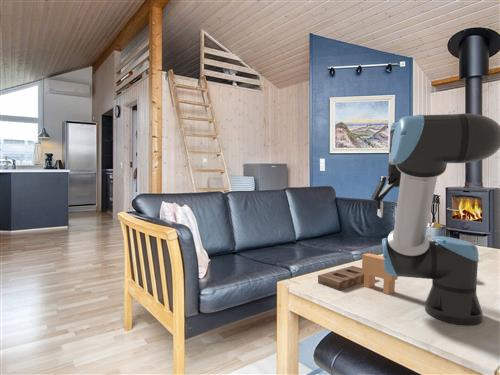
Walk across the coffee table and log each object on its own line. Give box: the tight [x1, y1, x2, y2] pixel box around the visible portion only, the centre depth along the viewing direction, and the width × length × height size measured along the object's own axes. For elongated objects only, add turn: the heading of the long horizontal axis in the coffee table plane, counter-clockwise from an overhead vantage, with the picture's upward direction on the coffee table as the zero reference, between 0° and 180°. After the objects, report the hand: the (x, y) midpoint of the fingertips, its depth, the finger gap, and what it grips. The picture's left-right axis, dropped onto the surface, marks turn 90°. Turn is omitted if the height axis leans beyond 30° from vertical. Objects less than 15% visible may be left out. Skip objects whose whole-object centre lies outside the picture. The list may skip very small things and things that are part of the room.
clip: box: [361, 252, 399, 295], centre depth 126 cm, size 12×4×12 cm, turn 37°
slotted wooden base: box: [317, 265, 364, 291], centre depth 136 cm, size 22×10×3 cm, turn 127°
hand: (396, 215), depth 137 cm, fingers open, 13 cm apart
